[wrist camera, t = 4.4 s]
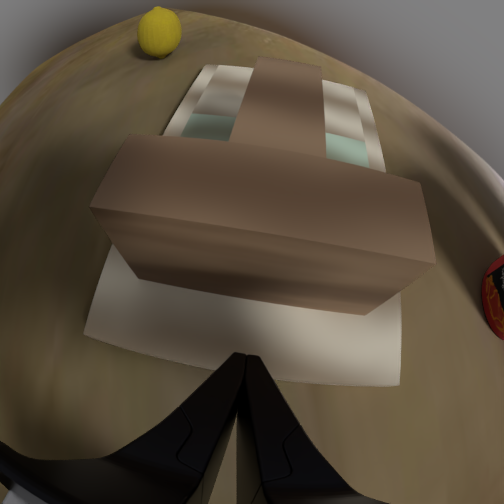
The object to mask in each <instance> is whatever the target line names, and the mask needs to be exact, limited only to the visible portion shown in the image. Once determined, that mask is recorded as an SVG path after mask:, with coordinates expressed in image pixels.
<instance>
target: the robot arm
mask: <svg viewBox="0 0 504 504" xmlns="http://www.w3.org/2000/svg"><path fill="white" fill-rule="evenodd" d="M237 410H238V411H237ZM236 415H237V504H389V503H385V502H382V501H379V500H375V499H372V498H369V497H366V496H364V495H362V494H360V493H358V492H357V491H355V490H354V489H353V488H352V487H350V486H349V485H348V484H347V483H346V482H345V480H344V479H343V478H342V477H341V476H340V475H339V474H338V473H337V472H336V470H335V469H334V468H333V467H332V466H331V465H330V464H329V463H328V461H327V460H326V459H325V458H324V457H323V456H322V454H321V453H320V452H319V451H318V449H317V448H316V447H315V446H314V444H313V443H312V441H311V440H310V438H309V437H308V435H307V434H306V432H305V431H304V429H303V427H302V426H301V425H300V423H299V421H298V419H297V418H296V416H295V415H294V413H293V411H292V410H291V408H290V406H289V405H288V403H287V401H286V400H285V398H284V396H283V395H282V393H281V391H280V390H279V388H278V386H277V385H276V383H275V381H274V379H273V378H272V376H271V374H270V373H269V371H268V369H267V367H266V366H265V364H264V362H263V360H262V359H261V357H260V356H258V355H252V354H248V355H246V354H245V353H239V352H234V353H232V354H231V355H230V356H229V357H228V358H227V359H226V361H225V362H224V363H223V364H222V365H221V366H220V367H219V368H218V369H217V370H216V371H215V372H214V373H213V374H212V375H211V376H210V377H209V378H207V379H206V380H205V381H204V382H203V383H202V384H201V385H200V386H199V387H198V388H197V389H196V390H195V391H194V392H193V393H192V394H191V395H190V396H189V397H188V398H187V399H186V400H185V401H184V402H183V403H182V404H181V405H180V406H179V407H177V408H176V409H175V410H174V411H173V412H172V413H171V414H170V415H169V416H167V417H166V418H165V419H164V420H163V421H161V422H160V423H159V424H158V425H156V426H155V427H153V428H152V429H151V430H149V431H148V432H146V433H145V434H143V435H142V436H140V437H138V438H137V439H135V440H134V441H132V442H131V443H129V444H127V445H126V446H124V447H123V448H121V449H119V450H118V451H116V452H114V453H112V454H110V455H108V456H105V457H101V458H96V459H80V460H40V459H33V458H29V457H26V456H24V455H21V454H19V453H18V452H16V451H14V450H13V449H12V448H10V447H9V446H7V445H6V444H5V443H3V442H1V441H0V482H1V483H2V484H3V485H4V486H5V487H6V488H7V489H8V490H9V492H8V493H7V495H6V497H5V499H4V500H3V502H2V504H208V502H209V499H210V496H211V493H212V490H213V487H214V484H215V481H216V478H217V475H218V472H219V469H220V466H221V463H222V460H223V457H224V454H225V451H226V448H227V445H228V442H229V439H230V435H231V432H232V429H233V426H234V423H235V419H236Z"/></svg>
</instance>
